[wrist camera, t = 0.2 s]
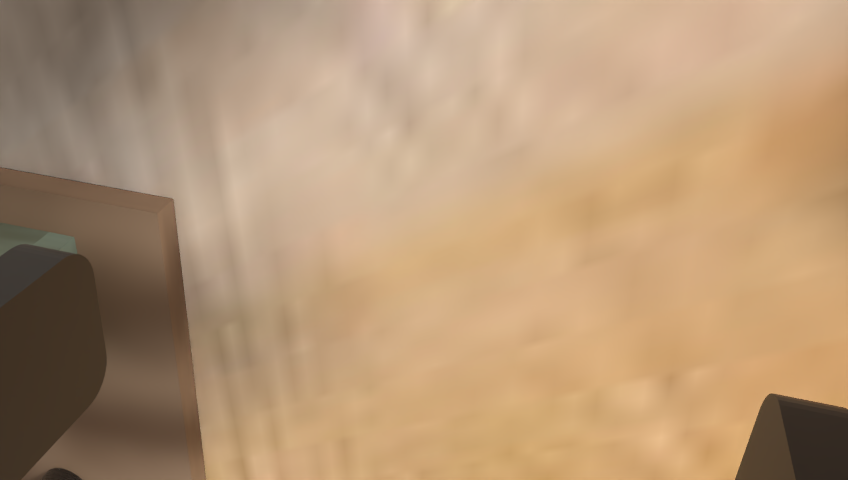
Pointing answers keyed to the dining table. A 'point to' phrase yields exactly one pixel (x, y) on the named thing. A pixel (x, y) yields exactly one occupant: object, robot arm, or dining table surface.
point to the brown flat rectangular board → (122, 329)
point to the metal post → (60, 475)
